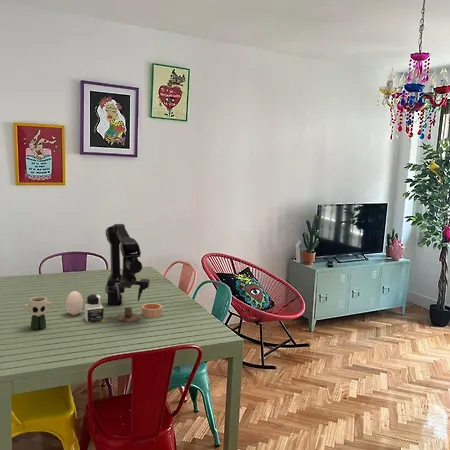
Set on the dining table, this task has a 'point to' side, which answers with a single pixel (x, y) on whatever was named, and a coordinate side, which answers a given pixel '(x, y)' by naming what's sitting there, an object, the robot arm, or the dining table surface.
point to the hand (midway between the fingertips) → (128, 300)
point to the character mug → (38, 311)
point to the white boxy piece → (94, 309)
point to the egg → (74, 303)
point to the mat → (128, 322)
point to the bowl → (151, 310)
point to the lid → (128, 316)
